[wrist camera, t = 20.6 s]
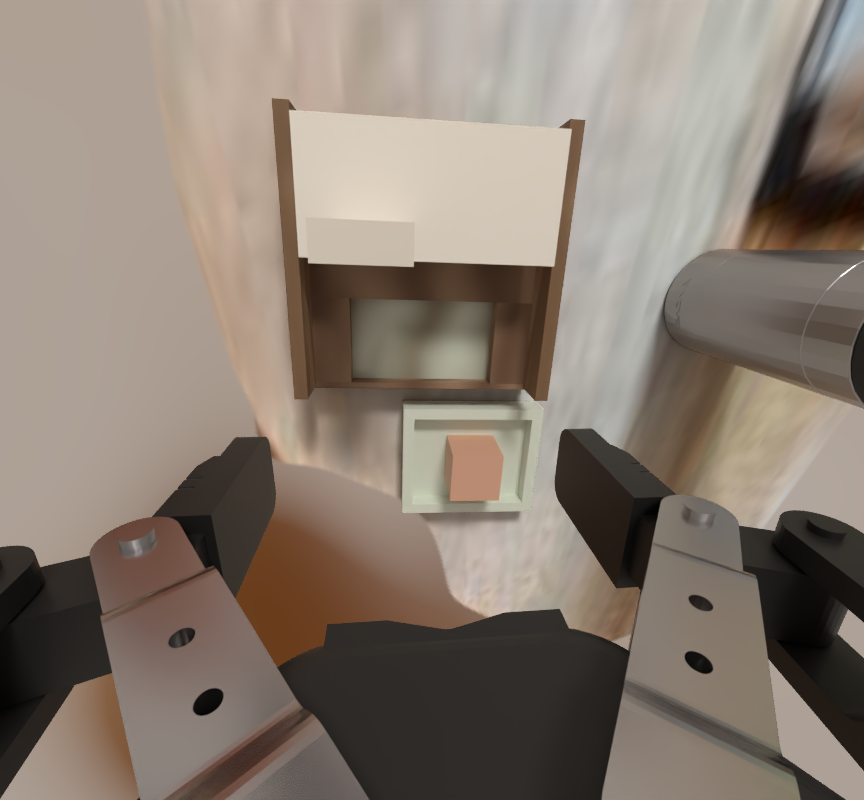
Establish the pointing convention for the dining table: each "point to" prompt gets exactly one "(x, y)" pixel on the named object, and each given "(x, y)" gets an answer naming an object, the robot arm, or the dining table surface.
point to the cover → (426, 190)
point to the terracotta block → (473, 468)
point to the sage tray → (436, 419)
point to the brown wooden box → (420, 309)
